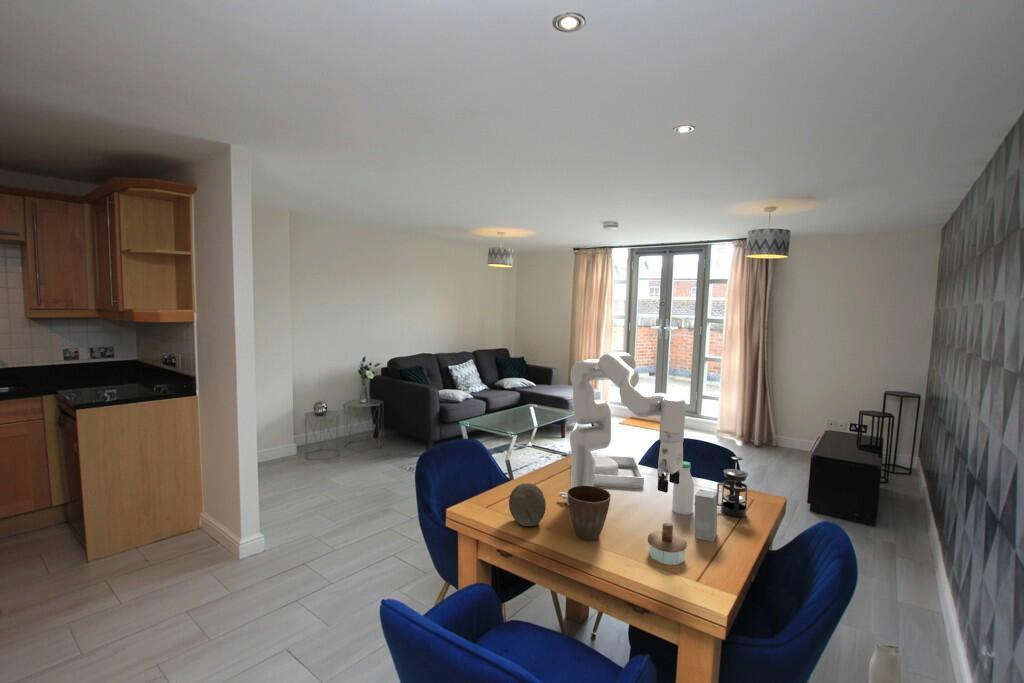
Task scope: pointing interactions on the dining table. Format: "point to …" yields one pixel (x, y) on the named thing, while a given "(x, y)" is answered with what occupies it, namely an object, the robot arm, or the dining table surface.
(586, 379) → the robot arm
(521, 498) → the grey stone egg
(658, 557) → the bowl
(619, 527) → the dining table surface
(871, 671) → the glass bottle
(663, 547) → the lid
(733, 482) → the french press
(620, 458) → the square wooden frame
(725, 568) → the dining table surface
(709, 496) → the skincare box
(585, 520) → the plant pot
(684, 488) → the milk bottle
